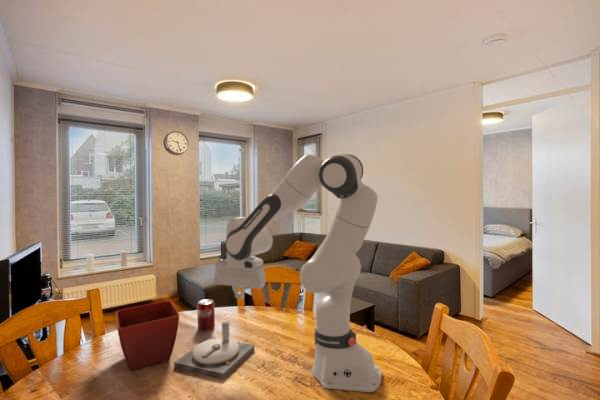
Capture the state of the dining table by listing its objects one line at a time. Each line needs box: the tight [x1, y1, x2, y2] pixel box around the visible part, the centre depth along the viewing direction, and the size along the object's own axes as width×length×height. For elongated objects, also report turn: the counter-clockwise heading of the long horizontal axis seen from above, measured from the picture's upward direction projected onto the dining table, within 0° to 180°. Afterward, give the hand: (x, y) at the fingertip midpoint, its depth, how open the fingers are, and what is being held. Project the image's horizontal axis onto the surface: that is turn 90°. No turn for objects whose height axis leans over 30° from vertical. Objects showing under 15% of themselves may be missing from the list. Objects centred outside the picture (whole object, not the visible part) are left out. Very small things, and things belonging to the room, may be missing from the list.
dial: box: [192, 320, 239, 364], centre depth 112 cm, size 16×16×8 cm
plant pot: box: [115, 300, 180, 371], centre depth 113 cm, size 19×19×17 cm
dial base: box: [173, 336, 255, 381], centre depth 112 cm, size 20×20×2 cm
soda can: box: [196, 298, 216, 332], centre depth 138 cm, size 7×7×12 cm
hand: (239, 297), depth 115 cm, fingers closed
